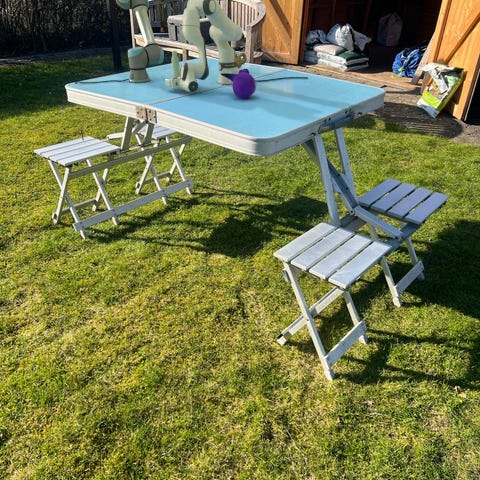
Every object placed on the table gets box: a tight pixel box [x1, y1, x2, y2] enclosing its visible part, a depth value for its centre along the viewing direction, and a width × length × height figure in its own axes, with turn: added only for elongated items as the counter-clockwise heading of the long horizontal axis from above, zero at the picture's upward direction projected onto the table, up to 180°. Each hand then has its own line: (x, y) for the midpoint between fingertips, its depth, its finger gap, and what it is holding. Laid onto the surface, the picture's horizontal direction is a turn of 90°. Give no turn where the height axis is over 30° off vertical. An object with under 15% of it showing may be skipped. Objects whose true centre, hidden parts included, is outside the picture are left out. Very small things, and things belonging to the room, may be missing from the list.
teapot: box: [234, 50, 247, 69], centre depth 367 cm, size 21×12×15 cm, turn 120°
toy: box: [221, 68, 257, 99], centre depth 286 cm, size 16×18×27 cm
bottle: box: [171, 50, 181, 78], centre depth 308 cm, size 5×5×24 cm
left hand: (164, 31), depth 310 cm, fingers closed on cap, 4 cm apart
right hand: (176, 79), depth 311 cm, fingers closed on bottle, 5 cm apart
